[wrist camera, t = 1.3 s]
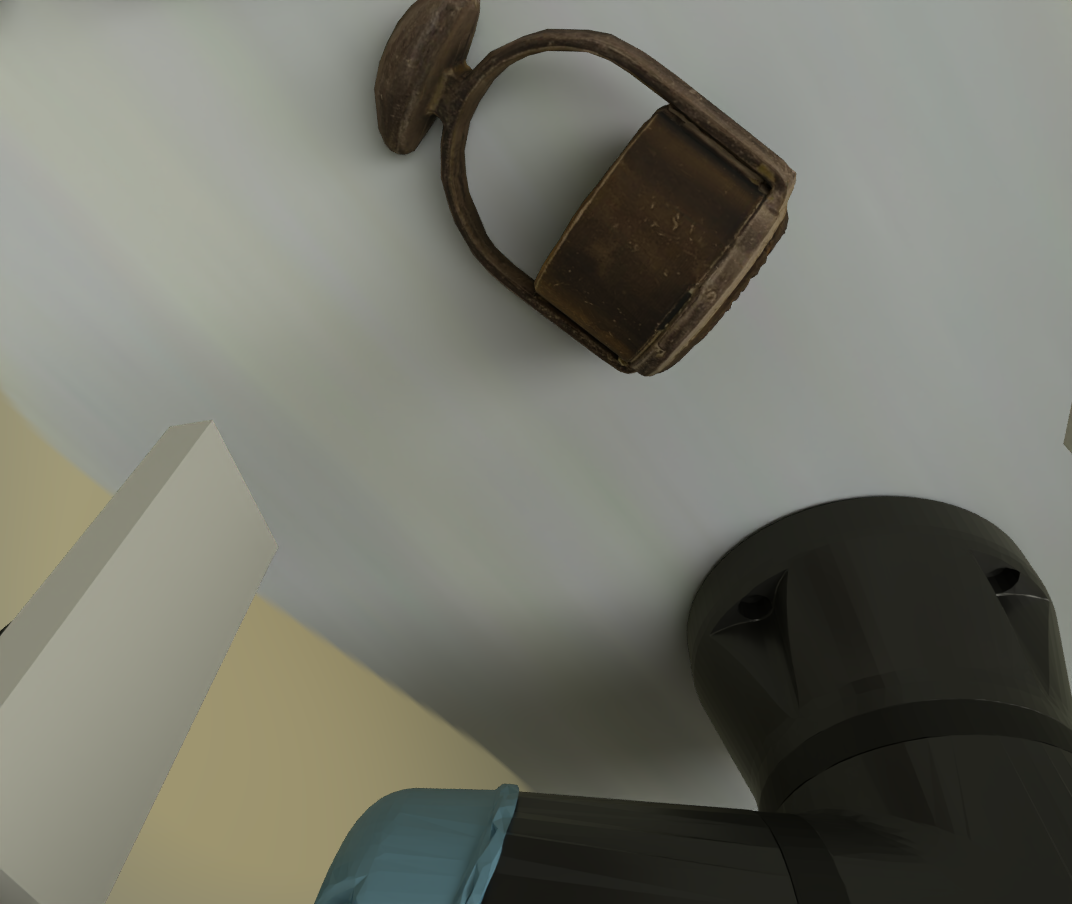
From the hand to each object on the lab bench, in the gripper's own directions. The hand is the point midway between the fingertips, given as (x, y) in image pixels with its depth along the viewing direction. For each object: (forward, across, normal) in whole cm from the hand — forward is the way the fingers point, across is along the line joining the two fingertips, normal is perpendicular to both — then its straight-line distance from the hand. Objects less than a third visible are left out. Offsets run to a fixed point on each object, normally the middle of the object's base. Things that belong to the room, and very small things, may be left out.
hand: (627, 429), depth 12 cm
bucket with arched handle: (+16, 0, 0) cm, 16 cm away
